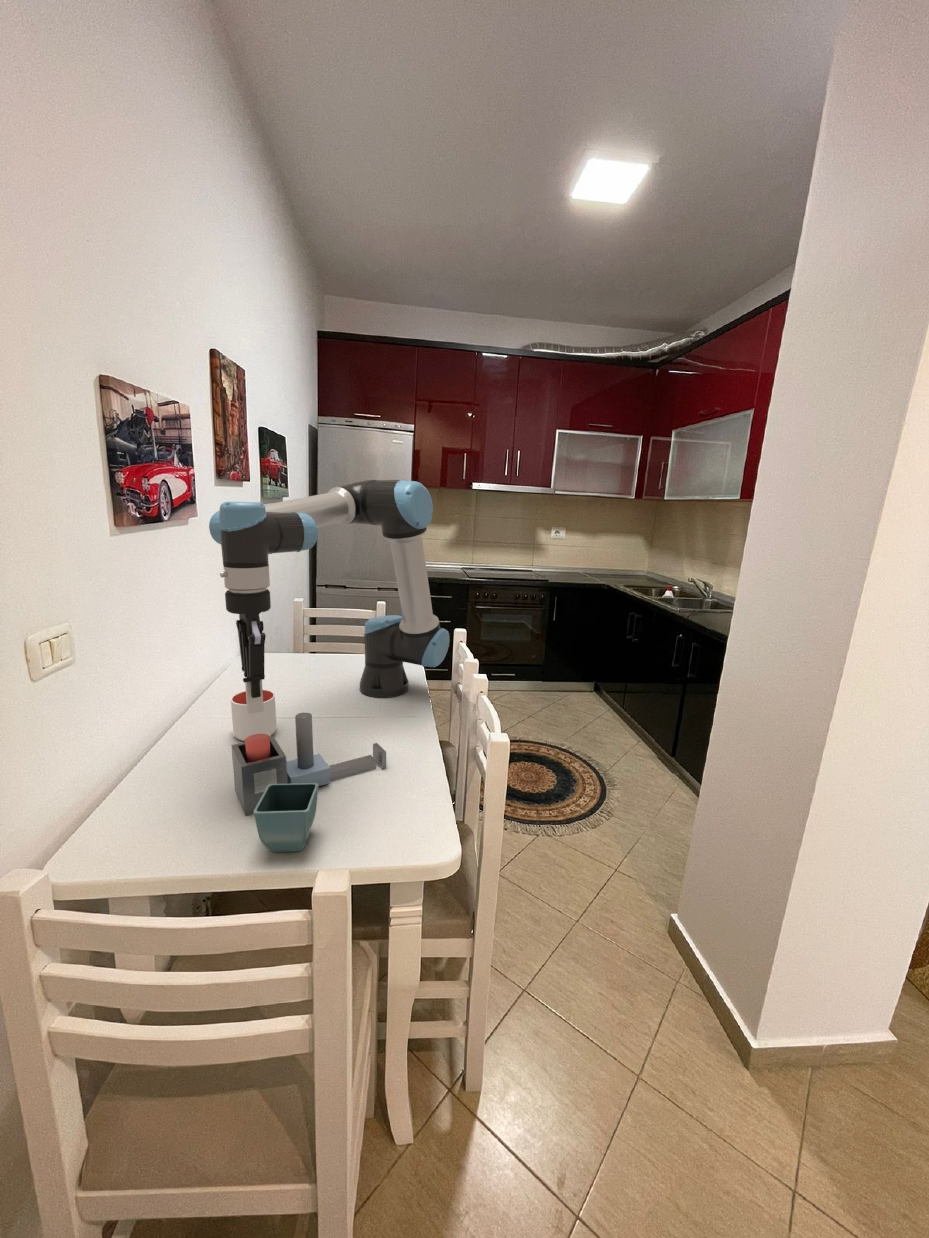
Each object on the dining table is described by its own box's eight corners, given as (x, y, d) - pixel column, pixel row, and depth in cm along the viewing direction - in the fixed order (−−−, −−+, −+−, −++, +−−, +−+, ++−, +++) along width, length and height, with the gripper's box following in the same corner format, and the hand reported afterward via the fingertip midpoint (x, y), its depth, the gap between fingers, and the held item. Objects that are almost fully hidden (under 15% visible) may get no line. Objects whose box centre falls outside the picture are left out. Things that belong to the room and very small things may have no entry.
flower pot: (270, 827, 93) (268, 782, 91) (320, 826, 94) (318, 782, 92) (255, 860, 84) (252, 812, 82) (310, 859, 85) (308, 811, 83)
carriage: (319, 770, 112) (317, 706, 109) (330, 785, 106) (328, 718, 103) (282, 780, 108) (278, 713, 104) (291, 796, 102) (288, 726, 99)
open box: (275, 779, 108) (273, 735, 106) (288, 803, 100) (286, 756, 98) (234, 789, 104) (231, 744, 102) (245, 816, 96) (241, 767, 93)
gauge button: (267, 754, 103) (266, 731, 102) (273, 764, 100) (272, 740, 99) (244, 760, 101) (243, 736, 100) (249, 770, 97) (247, 745, 96)
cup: (262, 745, 123) (259, 706, 120) (224, 740, 125) (221, 702, 122) (284, 728, 132) (282, 691, 130) (249, 723, 134) (247, 687, 132)
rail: (377, 758, 118) (376, 742, 117) (386, 768, 114) (386, 751, 113) (278, 784, 106) (277, 767, 105) (285, 796, 102) (284, 778, 101)
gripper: (218, 585, 96) (228, 703, 101) (231, 597, 85) (241, 728, 91) (261, 582, 100) (267, 696, 105) (278, 593, 89) (284, 719, 95)
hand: (255, 710), depth 98 cm, fingers closed
